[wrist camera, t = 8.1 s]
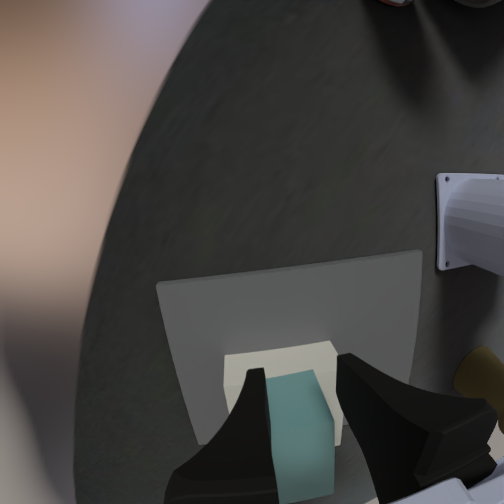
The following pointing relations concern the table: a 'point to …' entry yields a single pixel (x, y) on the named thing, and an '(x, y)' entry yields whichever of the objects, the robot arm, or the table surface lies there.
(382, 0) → the supplement bottle
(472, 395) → the cork
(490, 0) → the bluetooth speaker
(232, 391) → the base brick
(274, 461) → the top brick
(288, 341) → the baseplate
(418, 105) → the table surface
